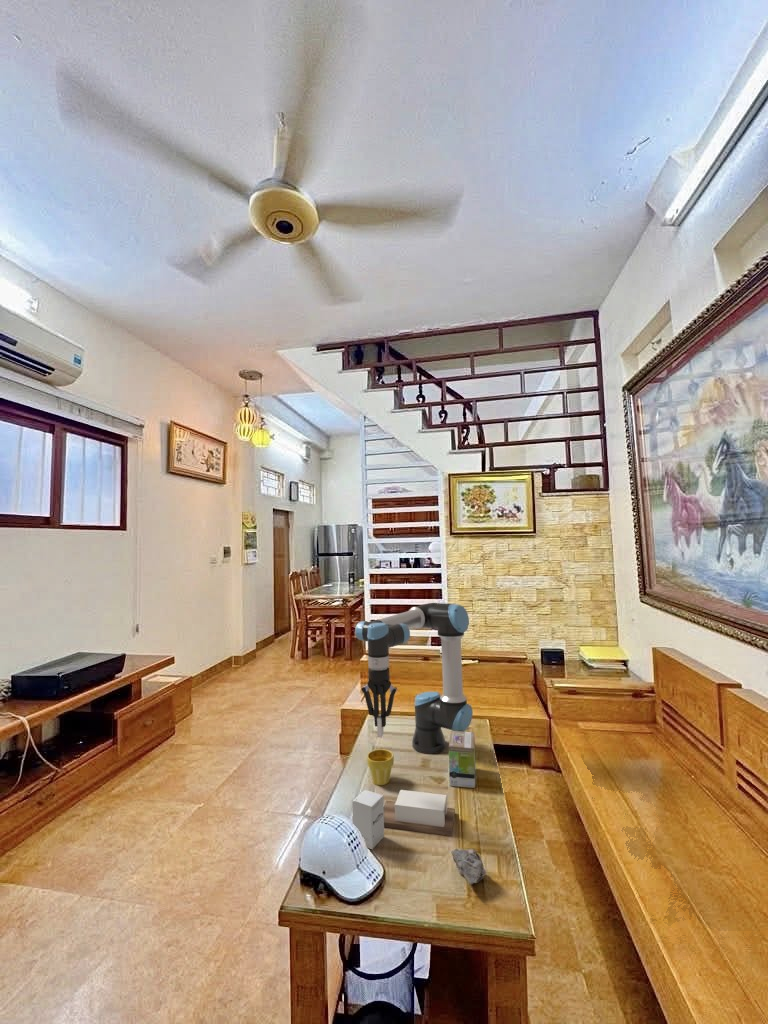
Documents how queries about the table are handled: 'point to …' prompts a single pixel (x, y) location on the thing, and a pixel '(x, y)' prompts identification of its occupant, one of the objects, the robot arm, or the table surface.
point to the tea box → (462, 759)
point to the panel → (421, 808)
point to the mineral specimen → (469, 865)
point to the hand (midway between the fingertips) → (380, 735)
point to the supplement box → (369, 816)
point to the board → (391, 823)
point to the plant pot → (380, 765)
